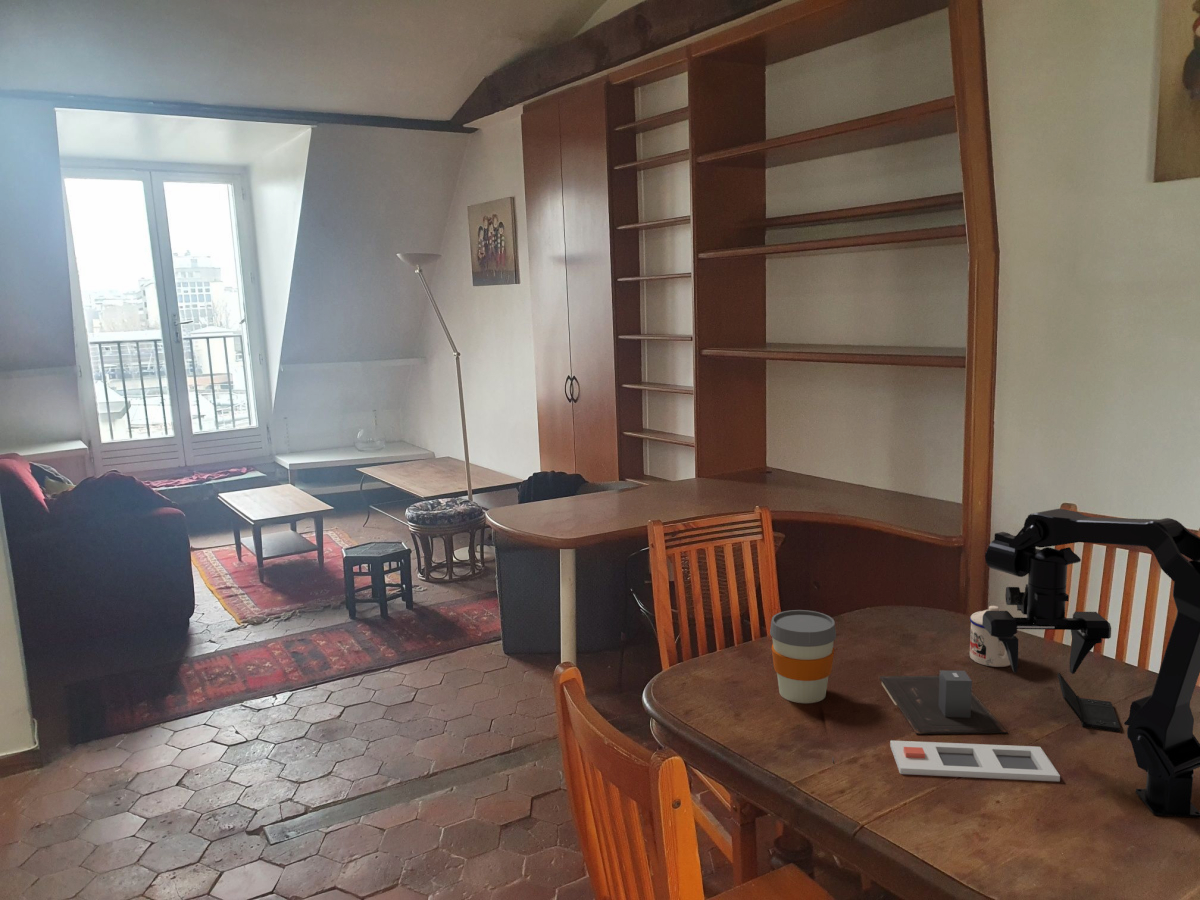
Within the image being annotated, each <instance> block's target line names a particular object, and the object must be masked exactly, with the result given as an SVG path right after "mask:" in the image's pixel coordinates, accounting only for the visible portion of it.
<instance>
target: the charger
mask: <svg viewBox="0 0 1200 900" xmlns="http://www.w3.org/2000/svg"><path fill="white" fill-rule="evenodd" d="M939 675H940V677H939V704H938V706H939V708H940V709H941V711H942V713H943V714H944V716H945V717H964V718H970V716H971V693H972V692H973V690H972V688H973V680H972V679H971V677H970V676H969V675H968V673H967V672H966V670H942V669H941V670H940V669H939Z"/></svg>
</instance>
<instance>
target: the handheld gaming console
mask: <svg viewBox="0 0 1200 900" xmlns="http://www.w3.org/2000/svg"><path fill="white" fill-rule="evenodd" d="M1060 673H1061V672H1060ZM1060 673H1057V679H1058V681H1059V682H1058V683H1059V686H1060V690H1061V695H1062V697H1063V700H1064V701H1065V702H1066V703H1067V705H1068V707H1070V709H1071V710H1072V712H1073V713H1074V714H1075V715H1076V716H1077V718H1078V719H1079V720H1080V722H1081V727H1082V728H1088V729H1093V730H1100V729H1101V731H1109V732H1116V733H1120V732H1121V726H1120V723H1119V720H1118V717H1117V714H1116V712H1115V709H1114V706H1113V703H1112V701H1109V700H1108V701H1107V700H1100V699H1091V698H1083V697H1080V696H1079V695H1077V694H1076V692H1075V691H1074V690H1073V689H1072V687H1071V686H1070V685H1069V683H1068V682H1067V681H1066V680H1065V679H1064V677H1063V676H1062V674H1060Z"/></svg>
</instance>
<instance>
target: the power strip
mask: <svg viewBox="0 0 1200 900" xmlns="http://www.w3.org/2000/svg"><path fill="white" fill-rule="evenodd" d="M889 746H890V749H891V752H892V754H893V757H894V761H895V763H896V766H897V769H898V772H899V774H900V775H911V776H912V775H915V776H916V775H917V776H936V777H956V778H959V777H961V778H975V779H976V778H977V779H979V778H981V779H998V780H1016V781H1017V780H1018V781H1019V780H1021V781H1040V782H1058V783H1059V782H1060V781H1061V775H1060V773H1059V772H1058V770H1057V769H1056V767H1055V766H1054V765H1053V763H1052V761H1051V760H1050V758H1049V757H1048V756H1047V755H1046V753H1045V751H1044V750H1043V749H1042V748H1041V746H1030V745H1011V744H1009V745H1006V744H983V743H981V744H980V743H962V742H961V743H960V742H959V743H958V742H957V743H956V742H941V741H939V742H935V741H911V740H908V741H907V740H890V743H889ZM833 762H834V763H835V759H834V758H832V763H833Z"/></svg>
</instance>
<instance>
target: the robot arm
mask: <svg viewBox="0 0 1200 900" xmlns="http://www.w3.org/2000/svg"><path fill="white" fill-rule="evenodd" d="M1077 543H1085V544H1087V543H1088V544H1104V545H1117V546H1118V545H1120V546H1121V545H1122V546H1134V547H1137V546H1138V547H1147V549H1149V550H1150V551H1151V552H1152V553H1153V554H1154V557H1155V559H1156V561H1157V562H1158V565H1159V567H1160V569H1161V571H1162V572H1163V573H1165V574H1166V575H1167V576H1168V578H1170V579H1171V581H1173V587H1172V588H1173V589H1172V590H1173V591H1172V597H1173V600H1174V604H1175V606H1176V607H1175V608H1176V610H1177V611H1176V616H1175V620H1174V623H1173V626H1172V629H1171V632H1170V636H1169V638H1168V642H1167V646H1166V649H1165V652H1164V655H1163V659H1162V660H1161V665H1160V667H1159V671H1158V673H1157V677H1156V681H1155V682H1154V688H1153V690H1152V693H1151V695H1147V696H1145V697H1144V696H1143V697H1142V698H1138V699H1136V700H1133V701H1132V702H1131V704H1130V706H1129V714H1128V717H1127V720H1125V721H1124V725H1125V726H1128V727H1127V730H1126V736H1127V739H1128V740H1129V741H1130V743H1131V747H1132V749H1133V753H1134V758H1135V761H1136V764H1137V767H1138V768H1139V769H1142V770H1143V771H1145V772H1146V784H1145V785H1146V786H1145V788H1135V793H1136V795H1137V796H1138V797H1139V799H1140V800H1141V801H1142V802H1143V803H1144V805H1145V806H1146V807H1147V808H1148V809H1149V811H1150V812H1151V813H1152V814H1153V815H1154V816H1161V817H1181V818H1198V819H1199V818H1200V810H1199V809H1198V808H1197V807H1196V806H1195V805H1194V804H1193V802H1192V798H1193V797H1192V795H1193V786H1194V785H1193V784H1194V775H1195V773H1194V770H1196V769H1199V768H1200V741H1199V740H1198V739H1197V738H1196V736H1195V735H1194V732H1193V731H1194V725H1195V719H1194V715H1193V712H1192V709H1191V701H1192V697H1193V695H1194V691H1195V688H1196V687H1197V686H1196V685H1197V683H1198V679H1199V676H1200V536H1198V534H1197V535H1196V534H1195V533H1194V532H1191V531H1190V530H1189V529H1188V528H1187V527H1185V526H1184V525H1183V524H1182V523H1181V522H1180V521H1178V520H1176V519H1174V518H1170V517H1166V518H1161V519H1156V518H1153V519H1152V518H1123V517H1100V516H1099V517H1097V516H1096V517H1095V516H1093V517H1092V516H1088V515H1084V514H1082V513H1080V512H1079V511H1072V510H1068V509H1064V508H1055V509H1049V510H1044V511H1039V512H1034V513H1029V514H1028V515H1027V517H1026V519H1025V520H1024V524H1023V527H1022V528H1021V529H1020V531H1018V532H1017V534H1016V535H1013V534H1010V533H1008V532H1005V531H1000V532H996V533H994V539H993V540H992V541H991V542H990V543H989V545H988V547H987V549H986V551H985V553H984V557H985V558H984V559H985V563H986V565H987V567H989V568H990V569H992V570H996V571H999V572H1001V573H1002V572H1003V573H1005V574H1008V575H1009V574H1010V575H1012V576H1015V577H1021V578H1023V577H1026V576H1027V577H1028V578H1027V583H1026V584H1025V587H1024V592H1023V591H1022V592H1021V589H1020V587H1019V586H1007V587H1005V603H1006V605H1007V606H1016V610H1017V611H1018V612H1019V611H1020V612H1021V614H1022V615H1026V617H1017V616H1016V617H1015V616H1013V615H1012V614H1011V613H1010V612H1009V611H1008V610H999V611H986V612H985V613H984V615H983V624H982V625H983V626H984V627H985V629H986V630H987V631H988V632H989V634H990V635H991V636H994V637H997V639H998V640H999V641H1002V642H1003V644H1004V646H1005V649H1006V652H1007V655H1008V658H1009V661H1010V664H1011V665H1010V667H1011V669H1012V671H1013V673H1015V674H1016V673H1017V672H1018V668H1019V667H1018V666H1019V638H1018V637H1017V636H1016V634H1018V630H1057V631H1059V630H1061V631H1062V630H1063V631H1064V630H1066V631H1069V630H1070V633H1071V648H1070V657H1069V672H1070V673H1071V674H1072V675H1073V674H1076V672H1077V670H1078V669H1079V668H1080V666H1081V664H1082V663H1083V662H1084V660H1085V658H1086V657H1087V655H1088V654H1089V653H1090V652H1091V651H1092V649H1094V648H1095V646H1096V644H1101V643H1102V642H1103V640H1105V639H1107V640H1109V639H1111V638H1112V626H1111V623H1110V622H1109V621H1108V620H1107V619H1106V618H1104V617H1103V616H1102V615H1101V614H1099V612H1097V611H1074V612H1073V614H1072V617H1068V618H1067V617H1066V603H1067V602H1069V598H1070V596H1069V594H1068V593H1067V579H1068V578H1067V577H1068V565H1069V566H1070V565H1073V564H1077V563H1080V562H1081V560H1082V559H1081V557H1080V556H1078V554H1076V552H1074V551H1073V549H1072V547H1064V548H1060V549H1057V548H1054V547H1056V546H1062V545H1069V544H1077ZM1052 547H1053V548H1052ZM1040 548H1042V549H1040ZM1186 557H1187V558H1186ZM1188 559H1190V561H1189V560H1188Z"/></svg>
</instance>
